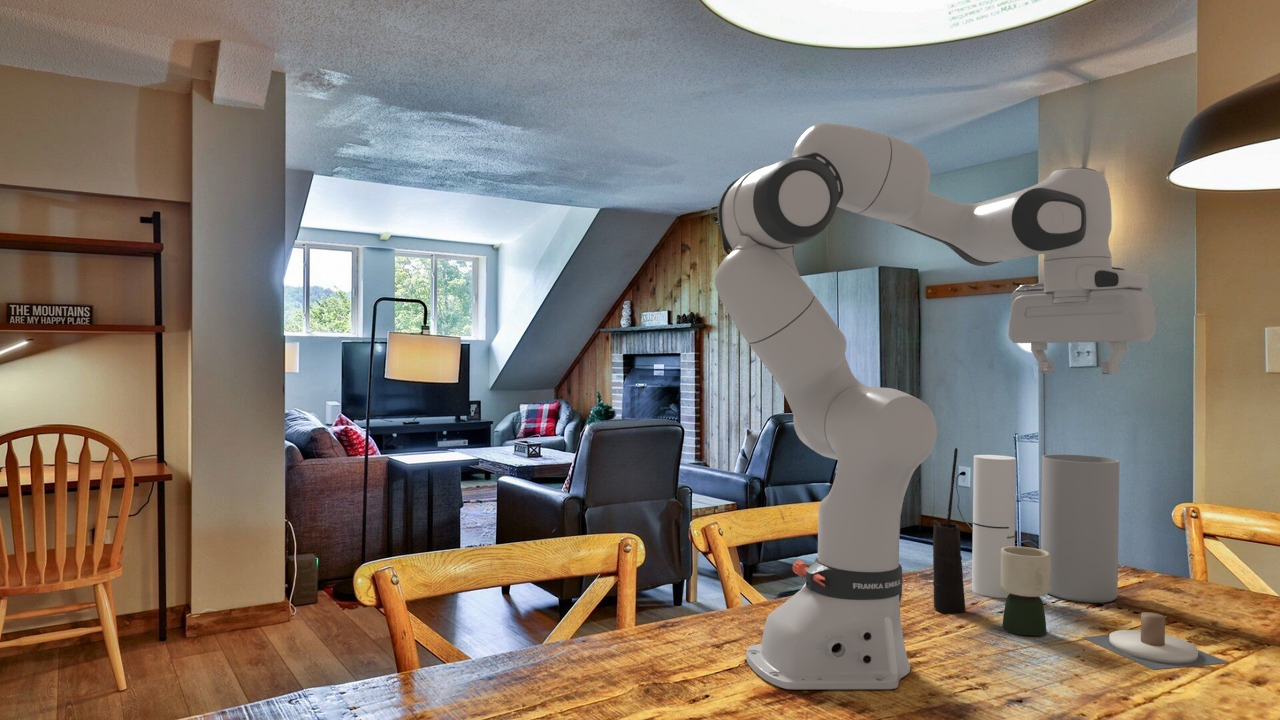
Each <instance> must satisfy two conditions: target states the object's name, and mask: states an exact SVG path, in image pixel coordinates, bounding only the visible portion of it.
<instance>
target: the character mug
mask: <svg viewBox="0 0 1280 720" xmlns="http://www.w3.org/2000/svg"><path fill="white" fill-rule="evenodd" d="M1050 572H1051V565H1050V553H1049V552H1047V551H1044V550H1041V548H1035V547H1027V546H1016V545H1015V546H1011V547H1004V548H1001V589H1002V590H1004V591H1006V592H1008V593H1010V594H1009V595H1008V596H1007V598H1006V599H1005V603H1004V610H1003V615H1002V616H1003V617H1002V625H1001V627H1002V628H1003V630H1004V631H1005V632H1007V633H1009V634H1013V635H1014V634H1015V635H1020V636H1021V635H1022V636H1023V635H1024V636H1041V637H1045V636H1046V635H1048V631H1047V620H1046V613H1045V605H1044V602H1043V600H1042V598H1041V597H1045V596H1047V595H1049V594H1048V593H1049V592H1050V589H1051V586H1050Z"/></svg>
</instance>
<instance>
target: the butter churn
mask: <svg viewBox="0 0 1280 720" xmlns="http://www.w3.org/2000/svg"><path fill="white" fill-rule="evenodd" d="M958 451H959V450H958V448H957V447H956V448H954V452H953V454H954V455H953V463H952V471H951V479H950V480H951V481H950V492H949V498H948V508H947V512H948V513H947V519H946V523H942V522H941V523H940V522H939V521H938V520H936V519H933V520H932V521H931V524H933V532H932V533H933V534H932V535H933V537H932V551H933V554H932V559H933V560H932V563H933V565H932V569H933V581H932V585H933V607H934V610H936V611H937V612H939V613H940V614H944V615H945V614H946V615H954V614H955V615H958V614H966V612H967V609H966V599H965V589H964V588H965V587H964V573H963V562H962V561H963V557H962V553H961V551H962V549H961V531H960V526H959V525H958V524H957V523H956V524H955V523H951V518H952V507H953V498H954V488H955V486H954V485H955V477H956V468H957V462H958V461H957V460H958Z"/></svg>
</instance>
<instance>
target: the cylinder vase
mask: <svg viewBox="0 0 1280 720" xmlns="http://www.w3.org/2000/svg"><path fill="white" fill-rule="evenodd" d="M1040 505H1041V510H1040V511H1041V514H1040V515H1041V518H1040V519H1041V520H1040V527H1041V528H1040V550H1044V551H1047V552H1049V553H1050V565H1051V572H1050V586H1051V589H1050V592H1049V593H1048V594H1047V595H1051V596H1053V597H1056V598H1058V599H1063V600H1068V601H1072V602H1079V603H1087V604H1088V603H1090V604H1101V603H1110V602H1112V601H1114V600H1115V599H1117V598H1118V594H1119V593H1118V590H1119V589H1118V587H1119V582H1118V581H1119V532H1120V531H1119V526H1120V525H1119V524H1120V522H1119V521H1120V515H1119V514H1120V460H1119V459H1116V458H1110V457H1105V456H1096V455H1083V454H1065V453H1063V454H1060V453H1058V454H1057V453H1055V454H1054V453H1053V454H1044V455H1042V456H1041V504H1040Z"/></svg>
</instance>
